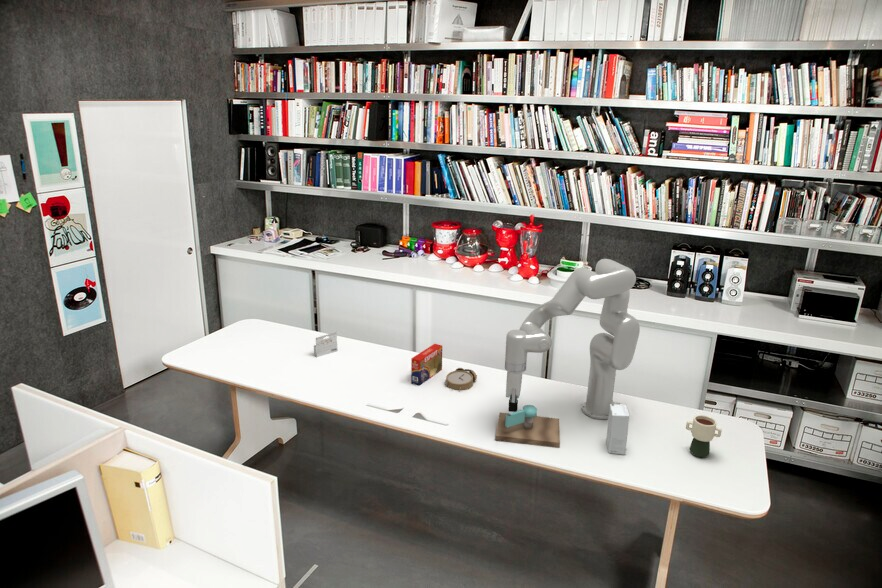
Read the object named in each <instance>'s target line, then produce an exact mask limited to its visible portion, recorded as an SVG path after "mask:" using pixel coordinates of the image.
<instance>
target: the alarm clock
mask: <svg viewBox="0 0 882 588" xmlns="http://www.w3.org/2000/svg"><path fill="white" fill-rule="evenodd" d="M477 376H478V375H477V373H476V372H475V371H474V370H472V369H469V368H462V367H457V368H456V369H455V370H454V371H451V372H448V373H447V375H446V377H445V379H446V383H444V385H445V386H446V387H448V388H449V389H451V390H454V391H462V392H463V391H467V390H470V389H471V388H472V387H474V386H473V385H474V382H476V381H477V378H478V377H477Z"/></svg>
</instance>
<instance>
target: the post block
mask: <svg viewBox="0 0 882 588" xmlns="http://www.w3.org/2000/svg"><path fill="white" fill-rule="evenodd" d="M507 413H509V412H499V415H498V419H497V420H498V421H497V425H496V426H497V427H496V432H495V433H496V434H495V441H496V442H498V441H499V442H506V443H513V444H521V445H522V444H523V445H531V446H532V445H533V446H540V447H541V446H543V447H549V448H551V447H552V448H560V445H561V437H560V435H561V434H560V430H561V429H560V418H557V417H556V418H555V417H549V416H548V417H547V416H537V415H536V416H535V417H532V418H529V417H525V418H524V422H523V423H520V424H517V425H514V426H511V427H506V426H505V421H506V414H507ZM509 414H510V413H509Z"/></svg>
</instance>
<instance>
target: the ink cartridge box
mask: <svg viewBox="0 0 882 588" xmlns="http://www.w3.org/2000/svg"><path fill="white" fill-rule="evenodd" d="M337 334H338V333H337V331H335V332H332V333H329V334H326V335H320V336H318V337H315V344H314V345H313V353H314V357H316V358H318V357H322V356H325V355H329V354H332V353H333V354H334V353H336V352H338V351H339V350H338V339H337V338H338V337H337V336H338V335H337ZM326 337H328V338H326Z"/></svg>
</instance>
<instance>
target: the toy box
mask: <svg viewBox="0 0 882 588" xmlns="http://www.w3.org/2000/svg"><path fill="white" fill-rule="evenodd" d="M410 360H411V363H410V364H411V368H410V369H411V373H410V374H411V375H410V376H411V377H410V380H411V381H410V384H412V385H414V386H418V387H421V385H424V384H425V382H427V381H428V380H430V379H431V378H433V377H434V376H435V375H437V374H438V373H439V372H441V371H442V370H443V345H441V344H439V343H433V344H432V345H430V346H429V347H427V348H426V349H424V350H422V351H420V352H419V353H418V354H416V355H415V356H413V357H412V358H411V359H410Z"/></svg>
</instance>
